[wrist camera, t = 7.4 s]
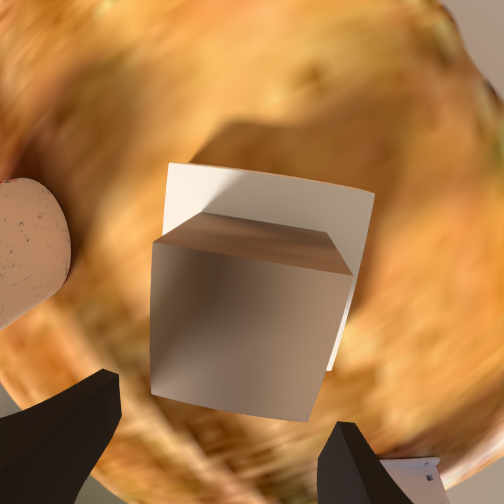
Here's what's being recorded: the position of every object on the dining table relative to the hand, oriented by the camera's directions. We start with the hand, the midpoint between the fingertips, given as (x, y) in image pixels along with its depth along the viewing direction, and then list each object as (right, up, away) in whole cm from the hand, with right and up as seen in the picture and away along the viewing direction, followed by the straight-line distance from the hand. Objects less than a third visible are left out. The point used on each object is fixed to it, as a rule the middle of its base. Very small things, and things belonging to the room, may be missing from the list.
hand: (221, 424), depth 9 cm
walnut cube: (+1, +4, +5) cm, 7 cm away
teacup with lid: (-16, +6, +10) cm, 19 cm away
